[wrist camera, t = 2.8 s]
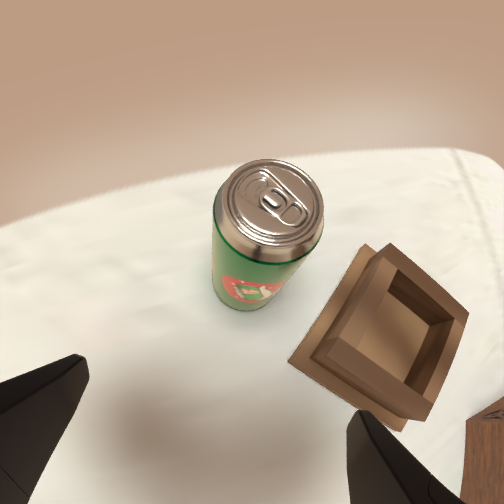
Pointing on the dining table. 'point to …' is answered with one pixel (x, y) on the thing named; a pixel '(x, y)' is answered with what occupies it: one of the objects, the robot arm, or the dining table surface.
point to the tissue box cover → (484, 457)
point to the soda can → (262, 231)
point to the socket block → (384, 338)
